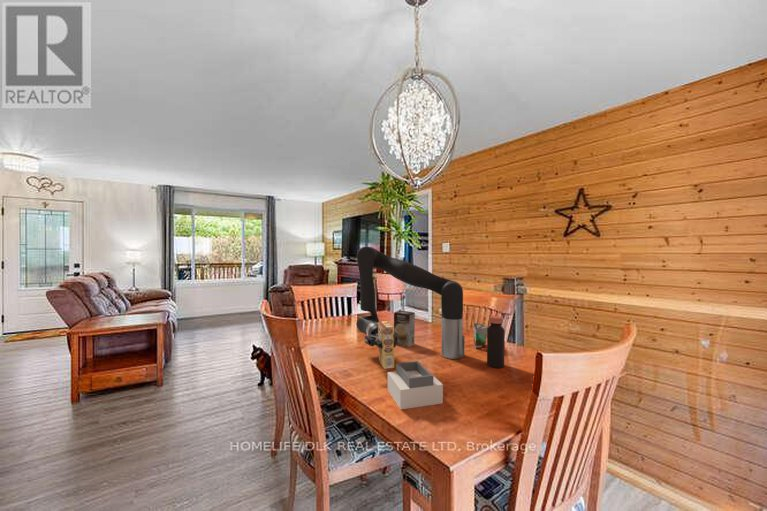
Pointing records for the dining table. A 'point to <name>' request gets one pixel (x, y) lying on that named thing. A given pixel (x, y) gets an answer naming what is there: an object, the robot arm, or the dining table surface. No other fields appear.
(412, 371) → the stand
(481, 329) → the food container
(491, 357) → the bottle
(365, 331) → the robot arm
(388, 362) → the candy box
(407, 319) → the coffee box
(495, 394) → the dining table surface
